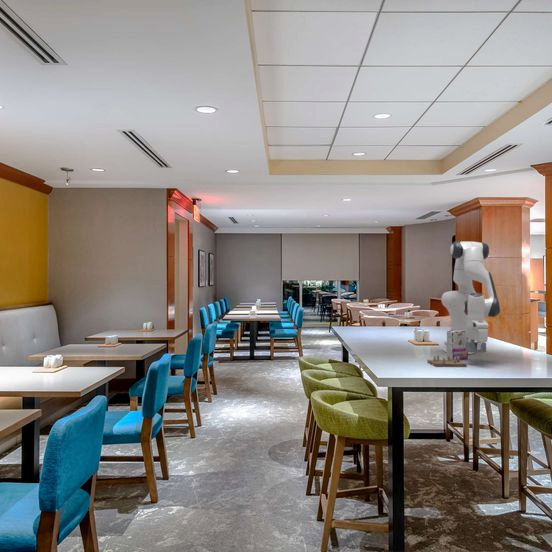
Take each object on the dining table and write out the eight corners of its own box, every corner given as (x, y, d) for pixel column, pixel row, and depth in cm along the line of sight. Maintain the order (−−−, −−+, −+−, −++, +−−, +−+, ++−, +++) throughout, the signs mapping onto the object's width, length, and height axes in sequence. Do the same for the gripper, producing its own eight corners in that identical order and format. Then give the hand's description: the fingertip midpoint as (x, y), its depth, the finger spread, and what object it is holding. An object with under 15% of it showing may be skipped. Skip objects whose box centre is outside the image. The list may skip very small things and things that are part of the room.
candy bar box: (461, 357, 275) (461, 329, 276) (468, 359, 271) (467, 330, 271) (446, 359, 271) (446, 330, 271) (452, 360, 266) (452, 331, 267)
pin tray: (427, 362, 260) (427, 354, 260) (456, 362, 260) (456, 354, 260) (436, 366, 246) (436, 358, 246) (466, 366, 246) (466, 358, 246)
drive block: (465, 350, 257) (465, 341, 257) (481, 350, 257) (481, 341, 257) (469, 352, 252) (469, 342, 252) (486, 352, 252) (486, 342, 252)
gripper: (462, 321, 265) (462, 345, 265) (478, 325, 245) (477, 351, 245) (473, 321, 265) (473, 345, 265) (490, 325, 244) (490, 351, 245)
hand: (475, 348), depth 255 cm, fingers closed on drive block, 5 cm apart
